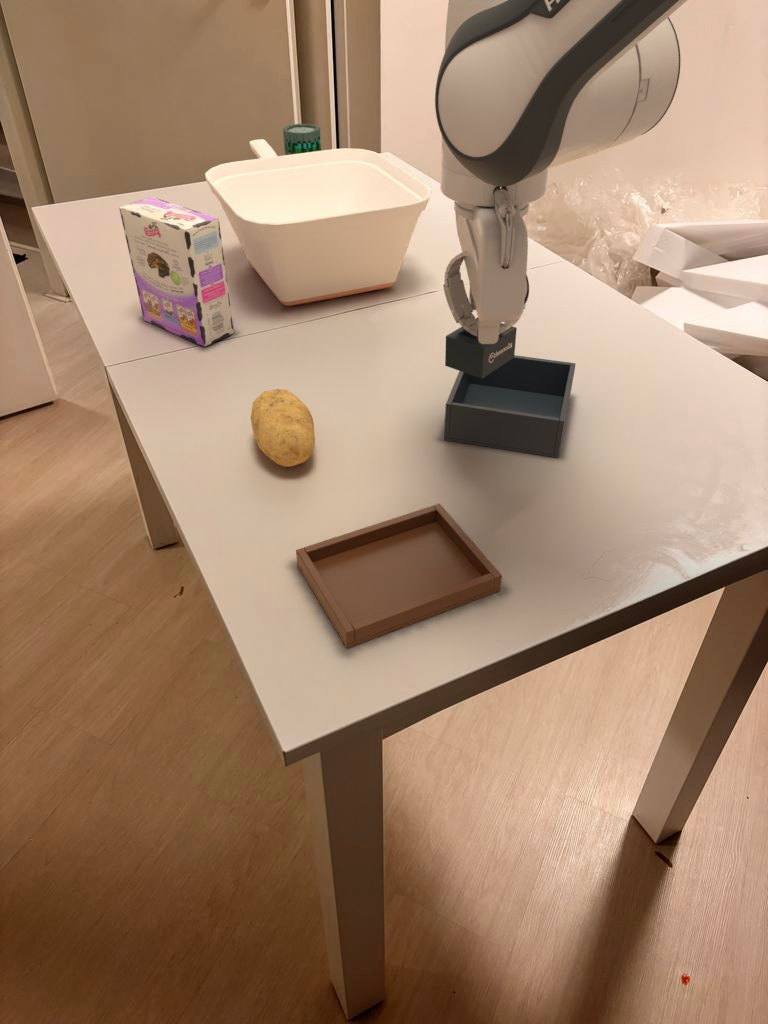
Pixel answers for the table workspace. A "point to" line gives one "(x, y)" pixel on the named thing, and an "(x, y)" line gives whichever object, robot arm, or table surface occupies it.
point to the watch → (473, 330)
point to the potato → (283, 427)
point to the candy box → (179, 269)
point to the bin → (512, 406)
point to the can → (301, 138)
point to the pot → (320, 219)
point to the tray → (396, 573)
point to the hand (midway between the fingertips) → (482, 322)
